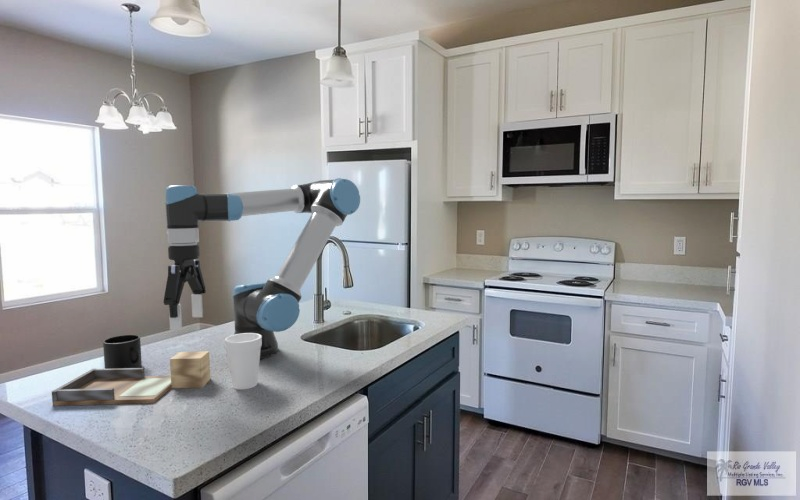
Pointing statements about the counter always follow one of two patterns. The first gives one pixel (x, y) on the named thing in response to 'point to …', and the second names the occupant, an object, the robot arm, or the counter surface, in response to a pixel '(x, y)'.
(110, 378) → the slot board
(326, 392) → the counter surface
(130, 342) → the mug
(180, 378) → the oak block
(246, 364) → the foam cup
